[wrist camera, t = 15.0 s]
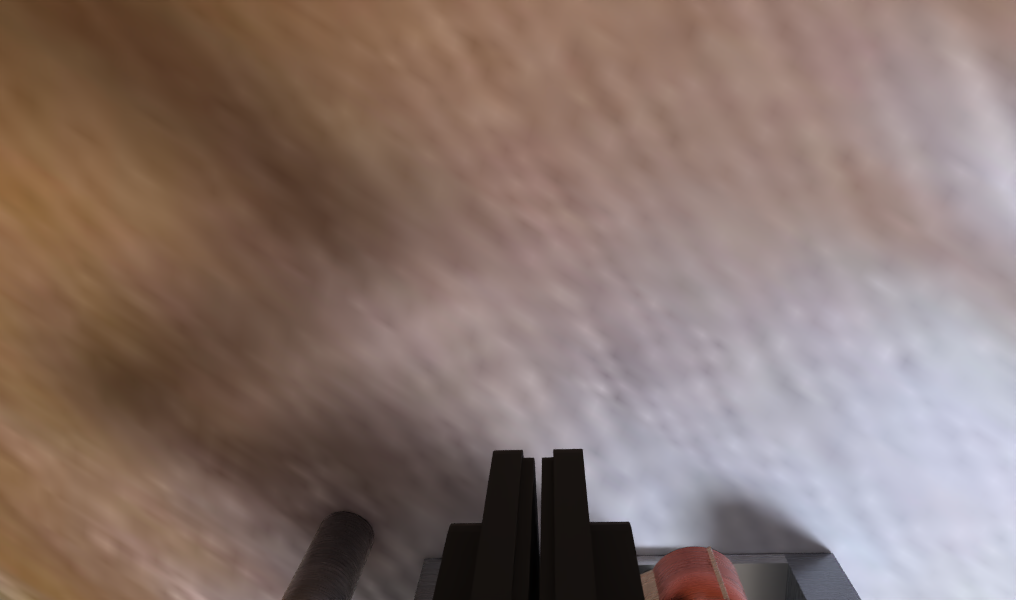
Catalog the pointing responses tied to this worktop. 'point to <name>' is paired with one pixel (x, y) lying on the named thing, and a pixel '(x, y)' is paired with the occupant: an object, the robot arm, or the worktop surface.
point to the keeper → (765, 577)
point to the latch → (693, 577)
